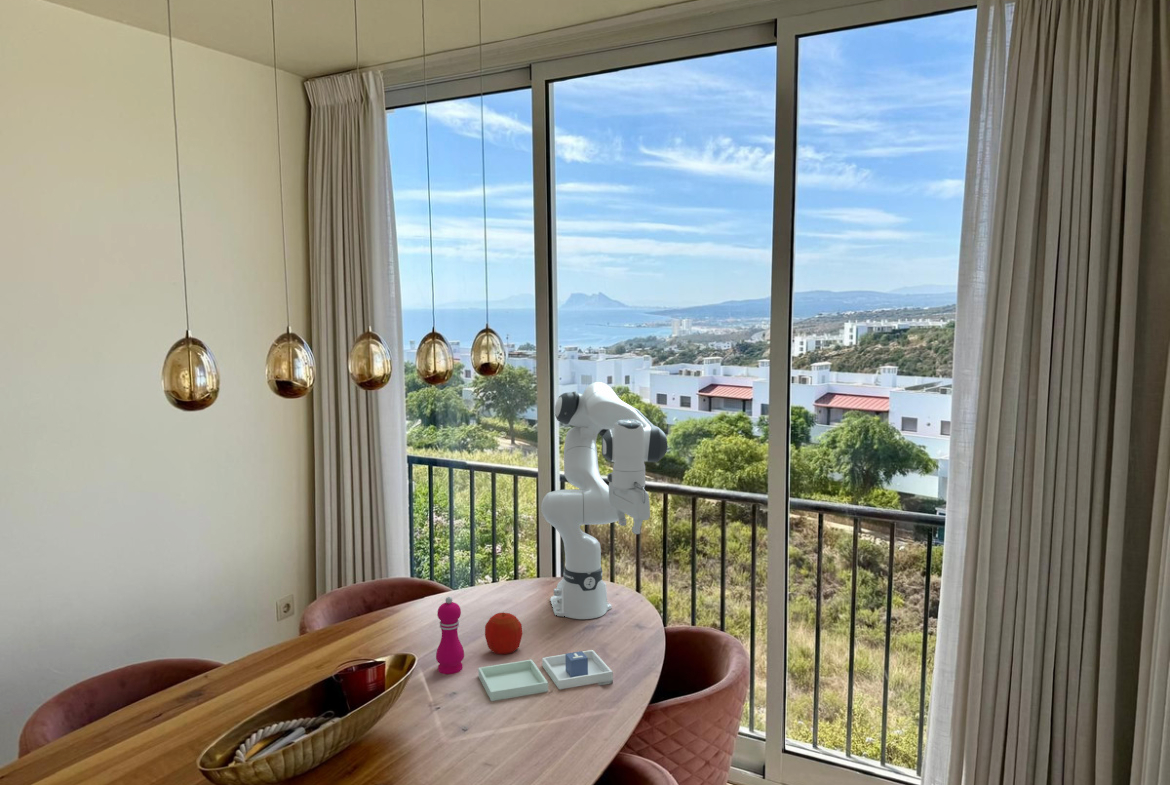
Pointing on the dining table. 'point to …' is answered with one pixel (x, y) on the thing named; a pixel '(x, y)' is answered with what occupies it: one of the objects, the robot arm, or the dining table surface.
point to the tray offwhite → (562, 680)
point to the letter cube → (576, 664)
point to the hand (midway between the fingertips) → (629, 529)
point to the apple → (503, 633)
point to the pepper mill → (449, 639)
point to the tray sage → (512, 680)
